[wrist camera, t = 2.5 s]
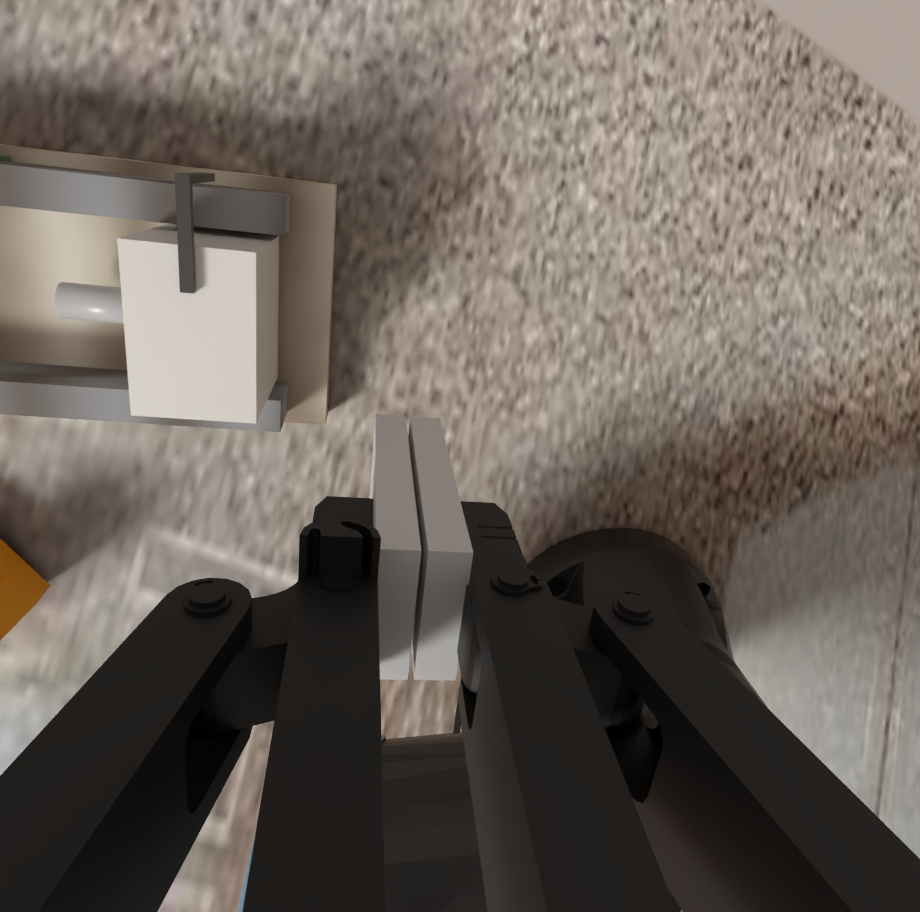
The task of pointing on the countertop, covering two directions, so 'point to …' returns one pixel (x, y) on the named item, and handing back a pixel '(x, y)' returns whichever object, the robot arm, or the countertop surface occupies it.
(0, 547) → the bracket
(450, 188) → the countertop surface
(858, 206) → the countertop surface
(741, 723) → the robot arm
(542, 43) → the countertop surface
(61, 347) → the base
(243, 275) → the gauge carriage
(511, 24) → the countertop surface
